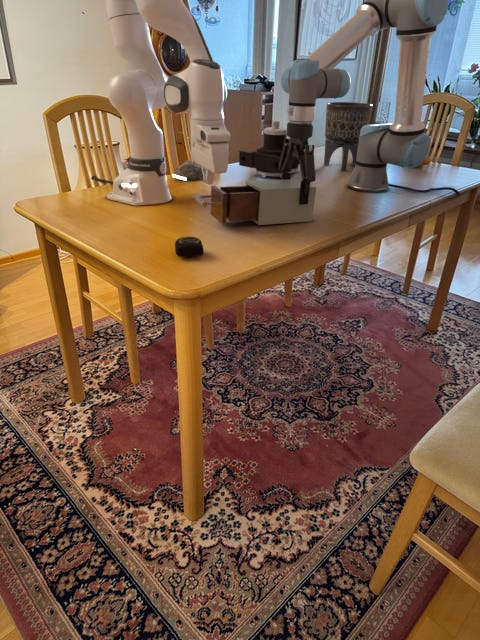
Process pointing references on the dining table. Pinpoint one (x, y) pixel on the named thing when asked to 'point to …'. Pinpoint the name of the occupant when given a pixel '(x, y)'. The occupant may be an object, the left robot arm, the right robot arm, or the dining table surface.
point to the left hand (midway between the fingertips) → (208, 183)
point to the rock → (189, 171)
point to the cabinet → (282, 201)
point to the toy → (425, 162)
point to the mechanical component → (268, 153)
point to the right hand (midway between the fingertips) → (293, 199)
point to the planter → (345, 128)
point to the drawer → (232, 203)
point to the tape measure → (189, 247)
